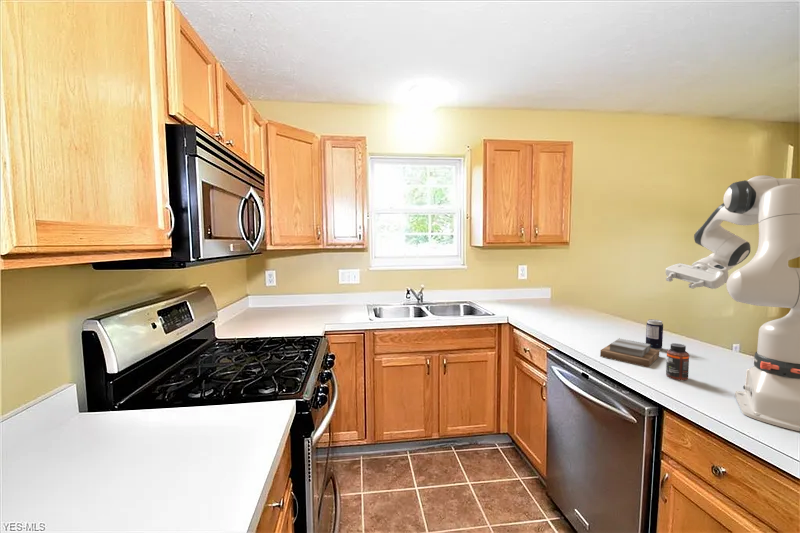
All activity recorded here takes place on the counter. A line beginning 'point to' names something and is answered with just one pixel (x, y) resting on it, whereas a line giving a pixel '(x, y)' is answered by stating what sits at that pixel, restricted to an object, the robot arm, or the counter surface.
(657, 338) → the beverage can
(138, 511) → the counter surface
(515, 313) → the counter surface
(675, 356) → the supplement bottle
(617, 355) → the plinth
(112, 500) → the counter surface
